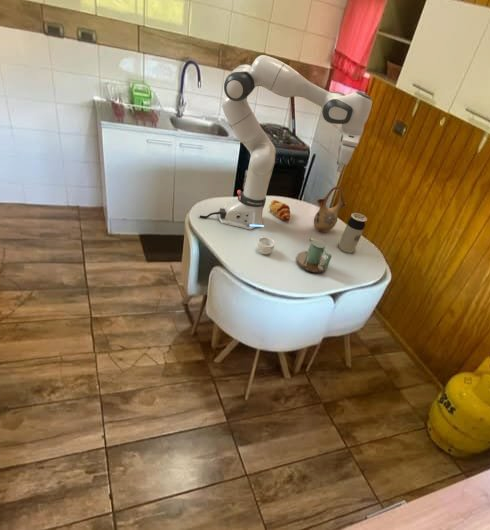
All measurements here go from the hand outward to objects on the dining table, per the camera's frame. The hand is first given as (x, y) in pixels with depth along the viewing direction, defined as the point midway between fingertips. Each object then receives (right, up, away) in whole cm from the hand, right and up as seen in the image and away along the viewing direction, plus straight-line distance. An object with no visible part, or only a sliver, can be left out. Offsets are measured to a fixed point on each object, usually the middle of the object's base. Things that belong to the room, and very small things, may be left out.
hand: (338, 167), depth 162 cm
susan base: (-11, -42, +7) cm, 44 cm away
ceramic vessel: (+1, -24, +35) cm, 43 cm away
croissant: (-20, -14, +42) cm, 49 cm away
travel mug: (+10, -34, +24) cm, 43 cm away
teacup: (-32, -35, +10) cm, 48 cm away
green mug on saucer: (-10, -41, +6) cm, 43 cm away
